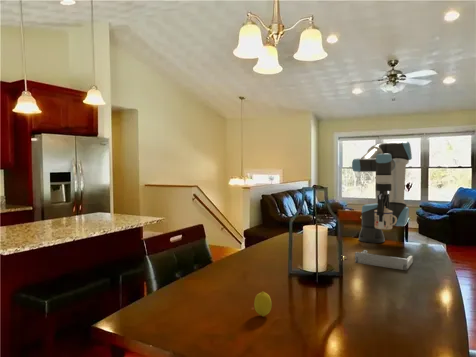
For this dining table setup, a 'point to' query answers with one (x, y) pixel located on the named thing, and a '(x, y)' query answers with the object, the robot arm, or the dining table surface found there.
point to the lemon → (262, 304)
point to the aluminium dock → (383, 260)
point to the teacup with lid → (385, 219)
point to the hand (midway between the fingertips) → (383, 226)
